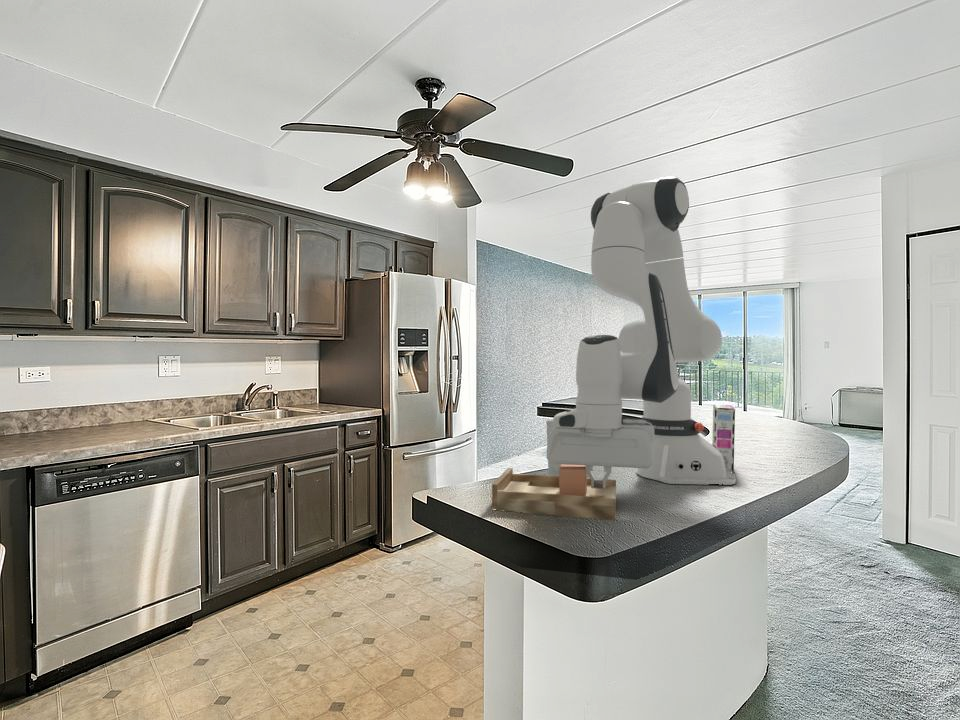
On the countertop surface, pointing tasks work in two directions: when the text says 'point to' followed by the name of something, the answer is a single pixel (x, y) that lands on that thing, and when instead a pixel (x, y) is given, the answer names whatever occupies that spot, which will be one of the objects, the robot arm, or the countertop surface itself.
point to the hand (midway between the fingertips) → (598, 488)
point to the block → (572, 480)
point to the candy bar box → (724, 433)
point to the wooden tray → (551, 497)
